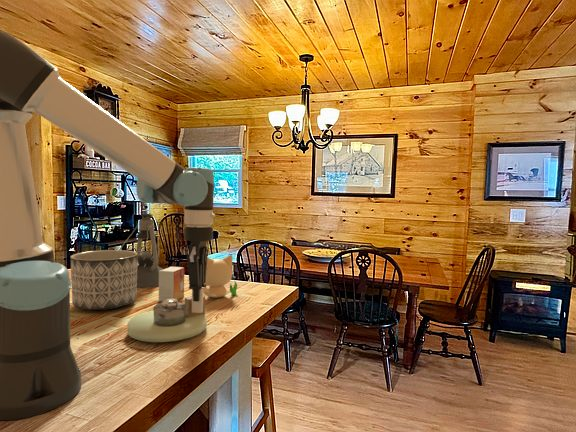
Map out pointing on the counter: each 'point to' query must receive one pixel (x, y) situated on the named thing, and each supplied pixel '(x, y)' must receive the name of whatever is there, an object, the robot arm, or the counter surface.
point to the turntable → (149, 332)
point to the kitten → (219, 277)
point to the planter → (104, 279)
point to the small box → (171, 283)
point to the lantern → (147, 255)
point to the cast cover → (169, 313)
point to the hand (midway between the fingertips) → (197, 311)
